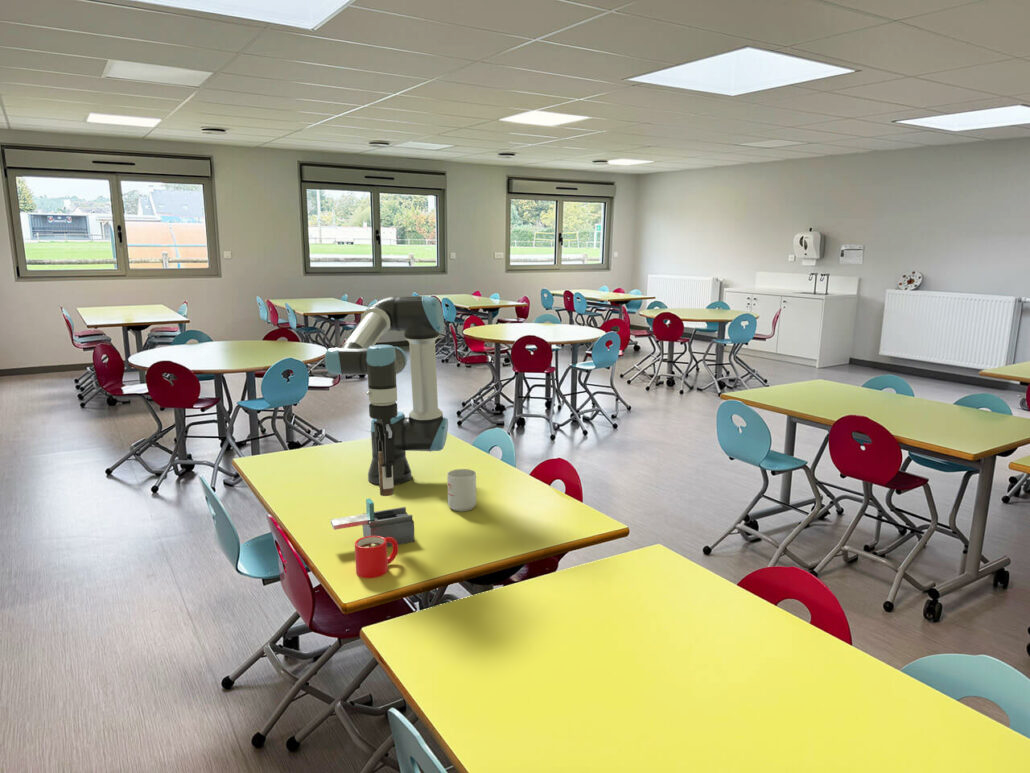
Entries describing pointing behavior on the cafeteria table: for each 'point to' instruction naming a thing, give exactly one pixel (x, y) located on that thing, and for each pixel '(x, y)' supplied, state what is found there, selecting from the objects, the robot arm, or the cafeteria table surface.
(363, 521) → the grey teal l-shaped bracket
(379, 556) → the mug
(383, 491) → the dowel
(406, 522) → the mount
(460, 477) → the mug
